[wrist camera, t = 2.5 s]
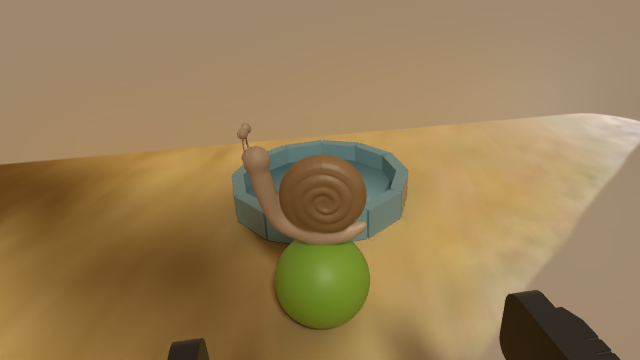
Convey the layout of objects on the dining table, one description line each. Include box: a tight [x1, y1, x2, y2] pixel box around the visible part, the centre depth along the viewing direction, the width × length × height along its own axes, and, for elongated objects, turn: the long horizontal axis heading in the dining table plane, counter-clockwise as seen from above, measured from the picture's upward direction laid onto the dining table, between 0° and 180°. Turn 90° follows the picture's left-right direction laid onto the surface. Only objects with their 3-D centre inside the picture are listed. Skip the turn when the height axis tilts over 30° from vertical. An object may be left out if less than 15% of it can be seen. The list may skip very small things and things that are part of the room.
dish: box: [232, 140, 408, 244], centre depth 38 cm, size 15×15×2 cm
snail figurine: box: [237, 123, 370, 329], centre depth 23 cm, size 5×6×12 cm
